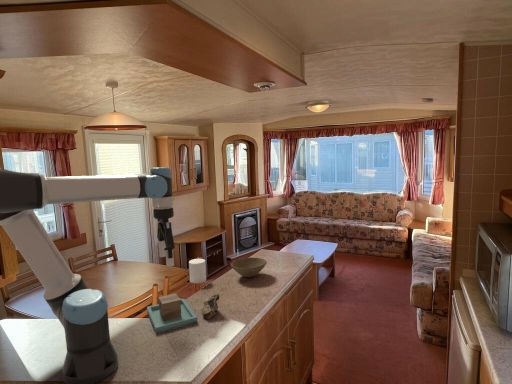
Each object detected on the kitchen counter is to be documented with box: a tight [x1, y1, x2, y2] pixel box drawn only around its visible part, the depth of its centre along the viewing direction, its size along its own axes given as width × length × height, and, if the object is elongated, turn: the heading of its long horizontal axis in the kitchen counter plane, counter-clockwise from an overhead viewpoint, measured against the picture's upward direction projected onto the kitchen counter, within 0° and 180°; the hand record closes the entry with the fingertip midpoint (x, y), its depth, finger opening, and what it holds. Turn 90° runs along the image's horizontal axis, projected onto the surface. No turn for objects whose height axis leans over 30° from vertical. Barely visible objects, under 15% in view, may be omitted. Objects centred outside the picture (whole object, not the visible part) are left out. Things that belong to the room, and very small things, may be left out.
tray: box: [146, 298, 198, 334], centre depth 133 cm, size 19×15×2 cm
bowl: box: [230, 257, 268, 278], centre depth 173 cm, size 18×18×8 cm
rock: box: [201, 293, 220, 320], centre depth 134 cm, size 9×7×10 cm
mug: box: [188, 258, 207, 284], centre depth 172 cm, size 8×10×12 cm
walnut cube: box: [158, 293, 181, 321], centre depth 132 cm, size 7×7×7 cm
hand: (166, 261), depth 130 cm, fingers open, 13 cm apart
